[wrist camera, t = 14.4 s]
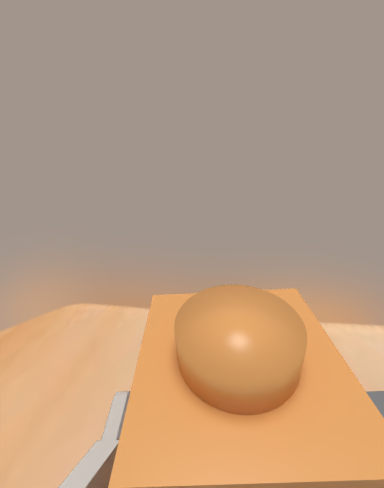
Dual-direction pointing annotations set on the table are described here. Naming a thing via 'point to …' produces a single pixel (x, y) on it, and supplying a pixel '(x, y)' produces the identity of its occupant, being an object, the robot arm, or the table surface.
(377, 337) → the table surface
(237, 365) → the orange toy brick
